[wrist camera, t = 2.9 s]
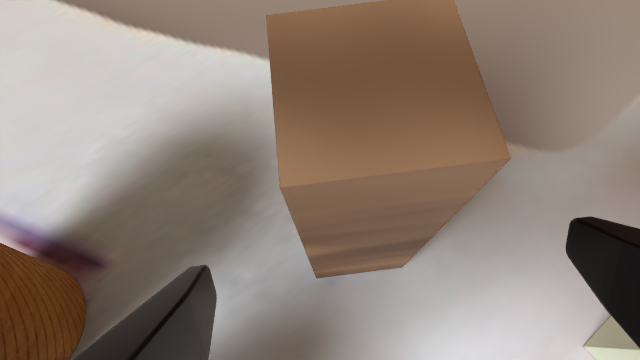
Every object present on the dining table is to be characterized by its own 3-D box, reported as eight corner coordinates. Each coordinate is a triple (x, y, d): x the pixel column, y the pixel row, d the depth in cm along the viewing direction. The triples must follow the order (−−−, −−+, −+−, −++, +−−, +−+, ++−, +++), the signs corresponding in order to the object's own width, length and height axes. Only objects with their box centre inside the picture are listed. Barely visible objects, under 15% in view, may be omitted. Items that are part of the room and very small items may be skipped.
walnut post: (401, 267, 19) (511, 158, 7) (316, 278, 19) (279, 187, 7) (385, 188, 21) (451, -8, 9) (307, 198, 21) (266, 15, 9)
